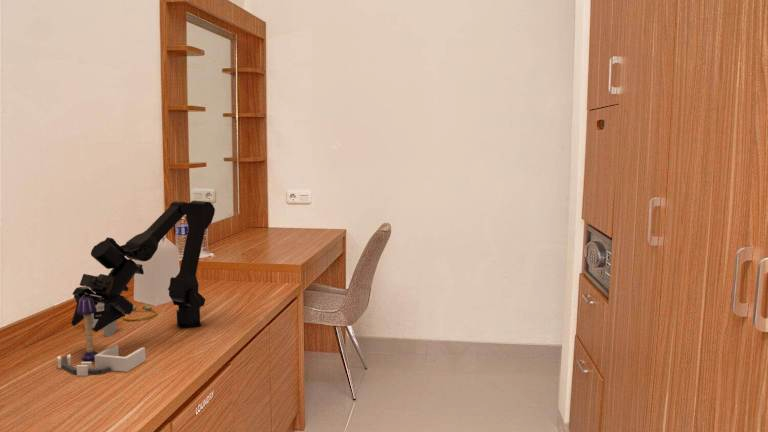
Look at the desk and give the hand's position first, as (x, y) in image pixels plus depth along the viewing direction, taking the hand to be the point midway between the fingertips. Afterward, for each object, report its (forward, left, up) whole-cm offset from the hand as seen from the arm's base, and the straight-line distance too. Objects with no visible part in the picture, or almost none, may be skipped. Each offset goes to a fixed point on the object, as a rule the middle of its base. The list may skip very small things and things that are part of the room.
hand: (83, 327), depth 157 cm
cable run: (0, +5, -9) cm, 10 cm away
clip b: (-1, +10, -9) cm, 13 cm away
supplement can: (-2, -31, -9) cm, 32 cm away
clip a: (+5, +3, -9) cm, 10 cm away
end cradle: (-9, +6, -9) cm, 14 cm away
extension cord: (-14, -39, -9) cm, 42 cm away
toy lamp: (-1, -1, -9) cm, 9 cm away
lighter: (-6, -22, -9) cm, 24 cm away
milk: (-20, -56, -9) cm, 60 cm away
